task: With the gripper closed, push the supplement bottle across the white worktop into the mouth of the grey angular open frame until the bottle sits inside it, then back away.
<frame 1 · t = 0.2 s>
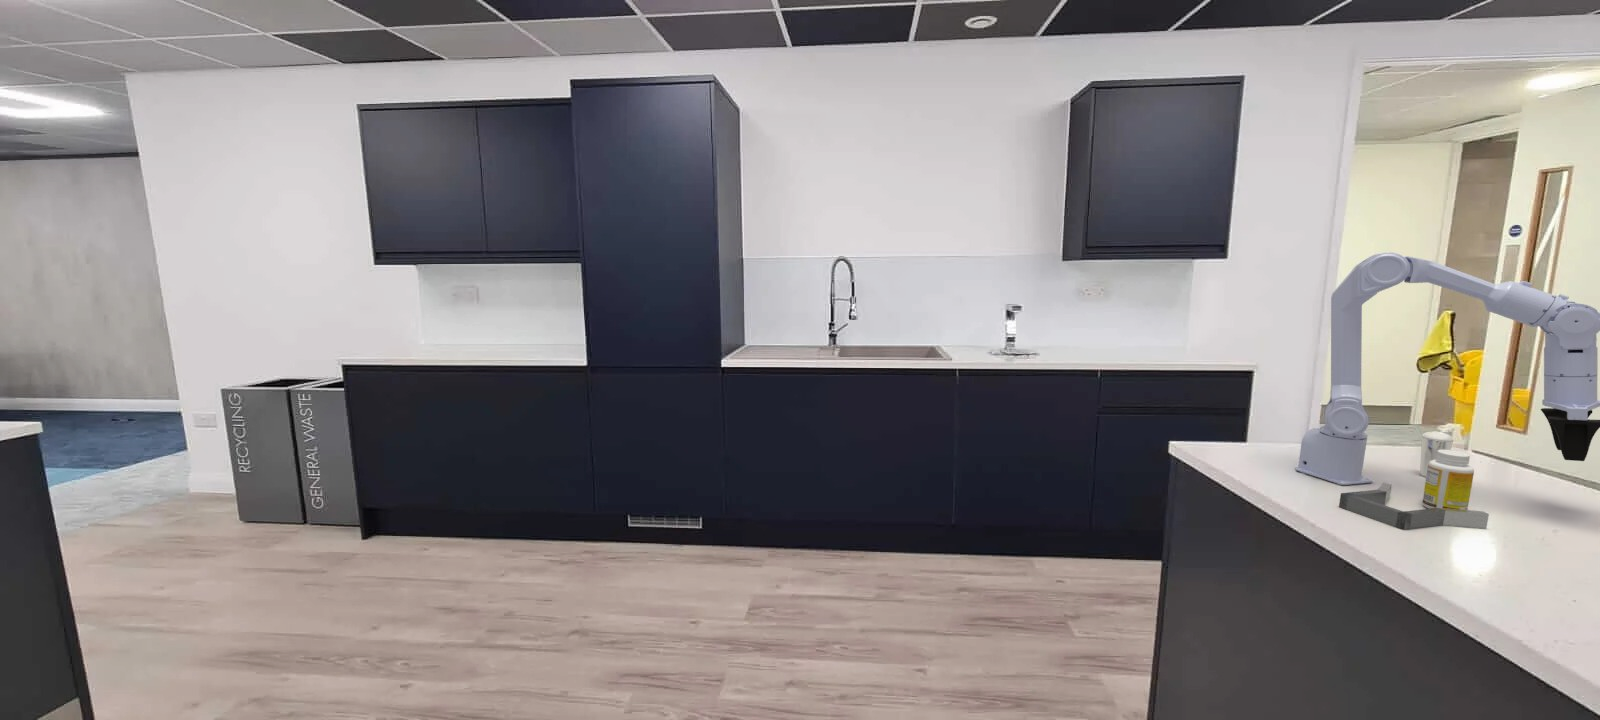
hand: (1570, 455, 108), 11 cm above the counter, tool pointing down, fingers open, 7 cm apart
supplement bottle: (1443, 510, 111), on the counter
grey angular open frame: (1392, 515, 108), on the counter
milkshake: (1427, 476, 129), on the counter
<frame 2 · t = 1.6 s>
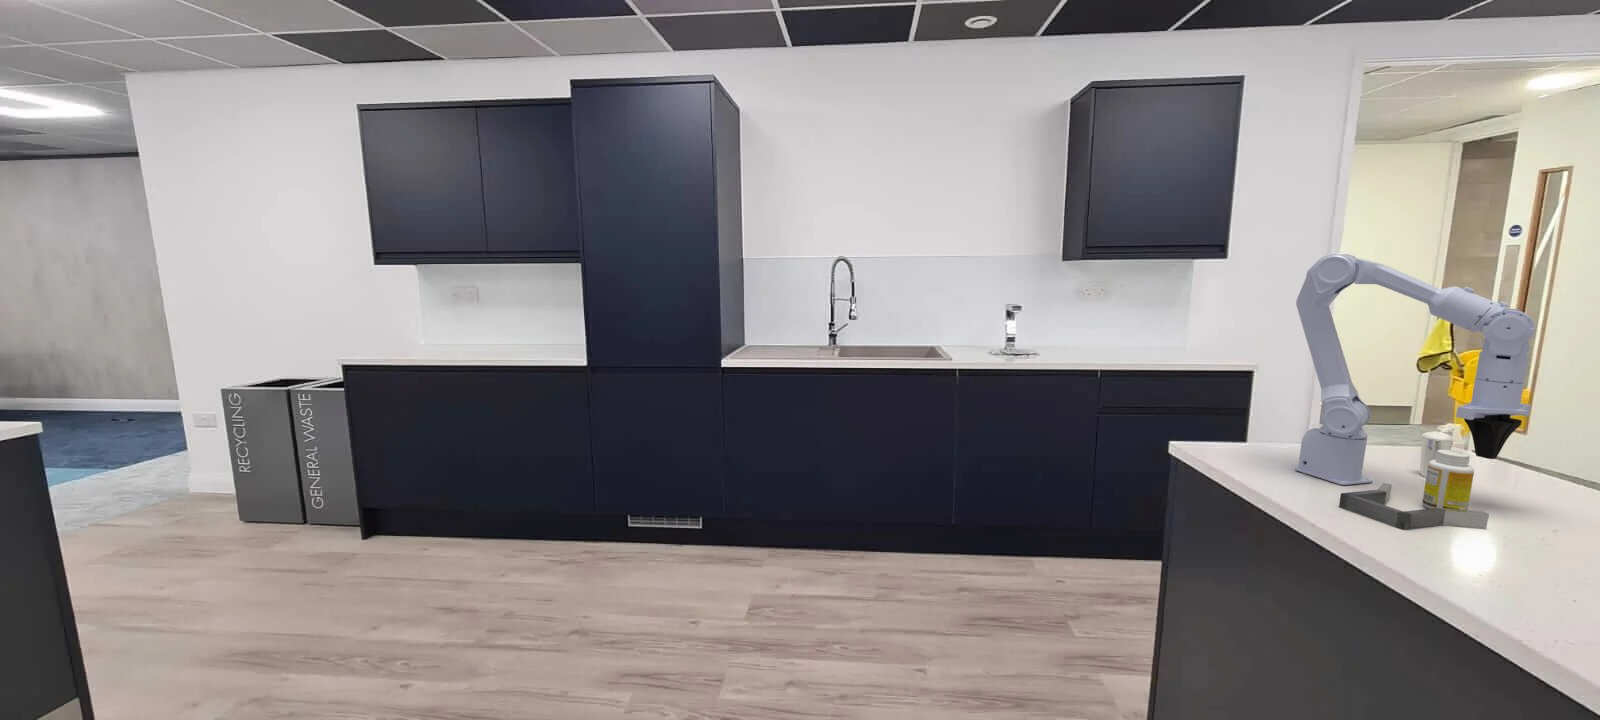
hand: (1485, 457, 112), 9 cm above the counter, tool pointing down, fingers closed
nothing on the counter moved.
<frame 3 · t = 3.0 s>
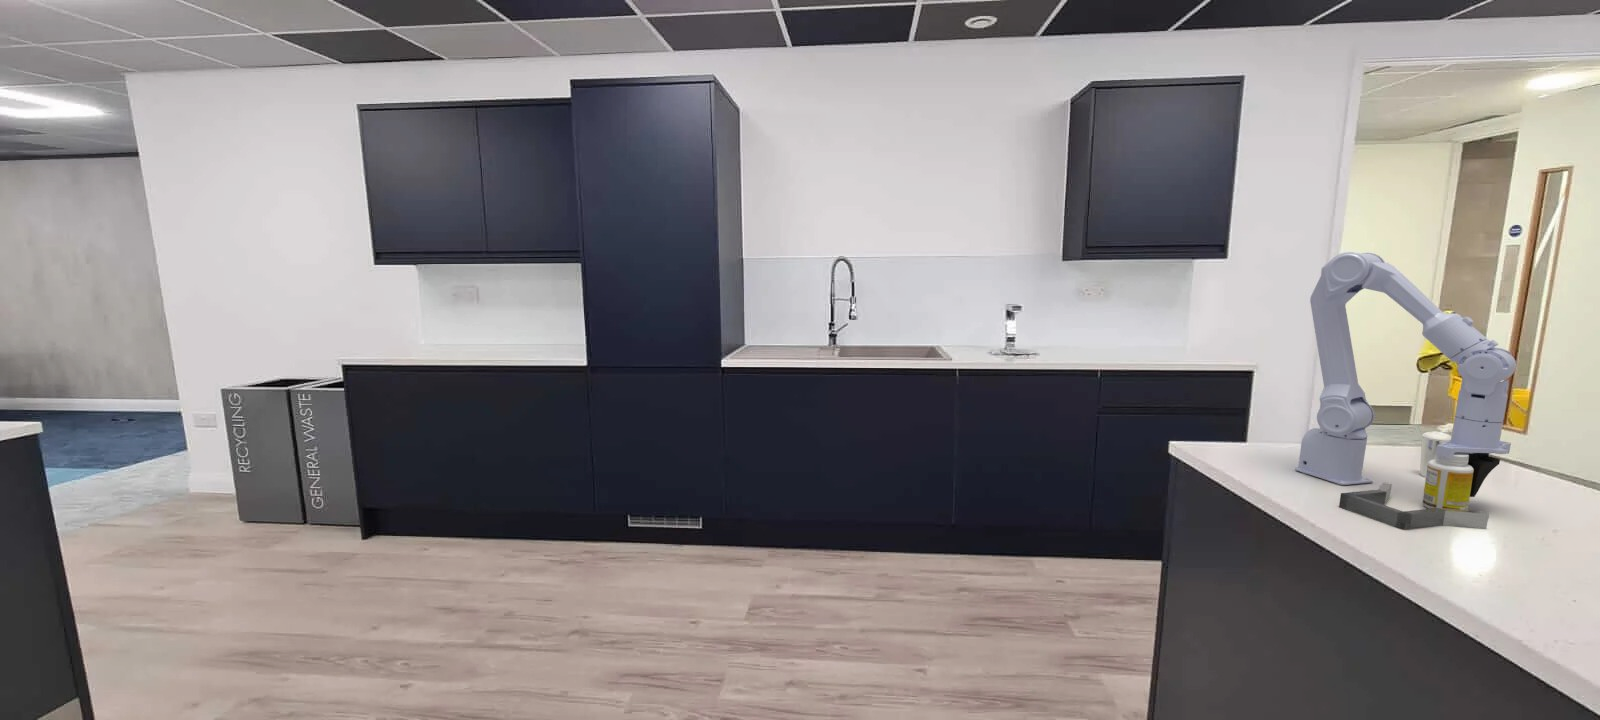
hand: (1465, 495, 112), 2 cm above the counter, tool pointing down, fingers closed
supplement bottle: (1443, 510, 111), on the counter, touching gripper
everything else where it was.
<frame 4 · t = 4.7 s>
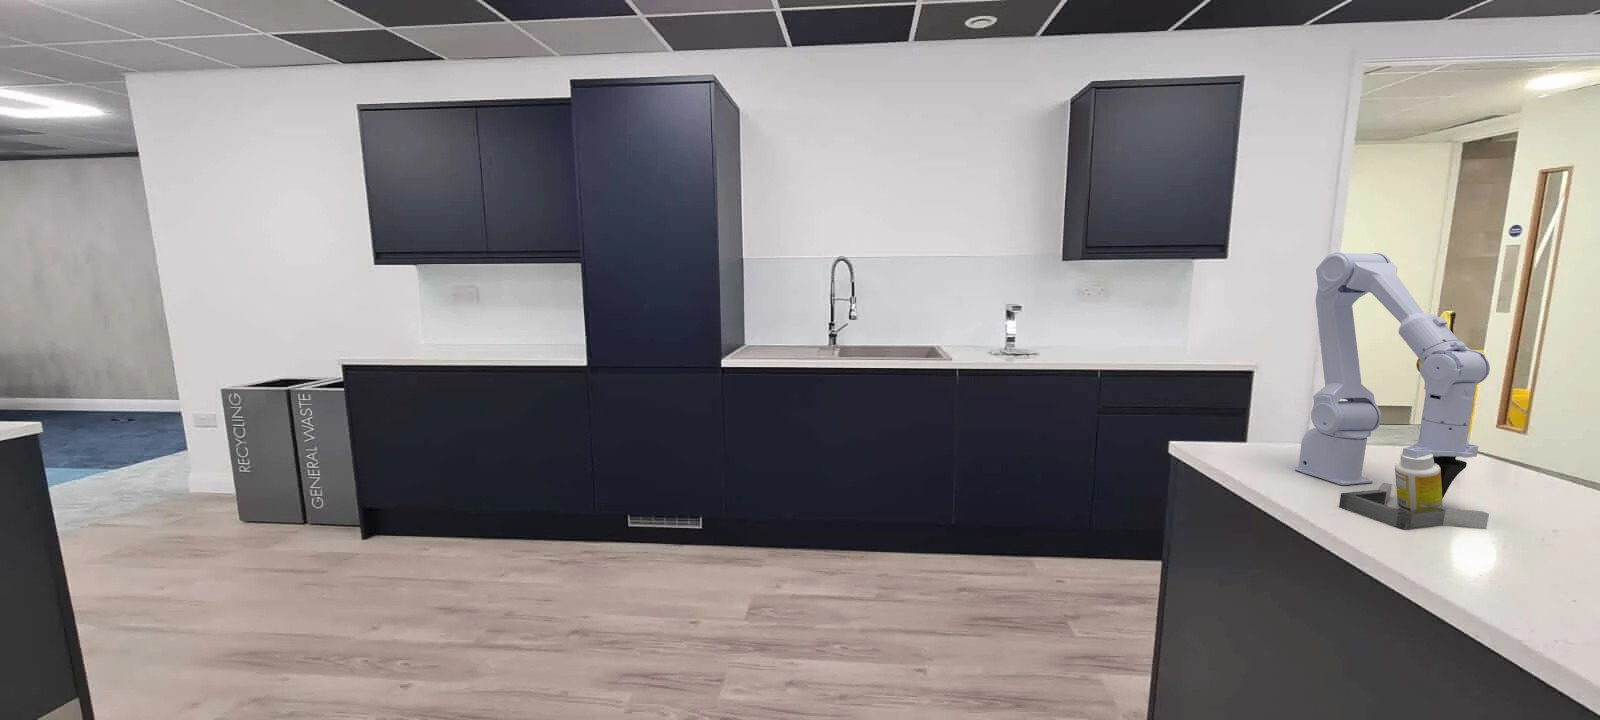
hand: (1432, 498, 110), 2 cm above the counter, tool pointing down, fingers closed
supplement bottle: (1419, 509, 109), point 1 cm above the counter, touching gripper
everything else where it was.
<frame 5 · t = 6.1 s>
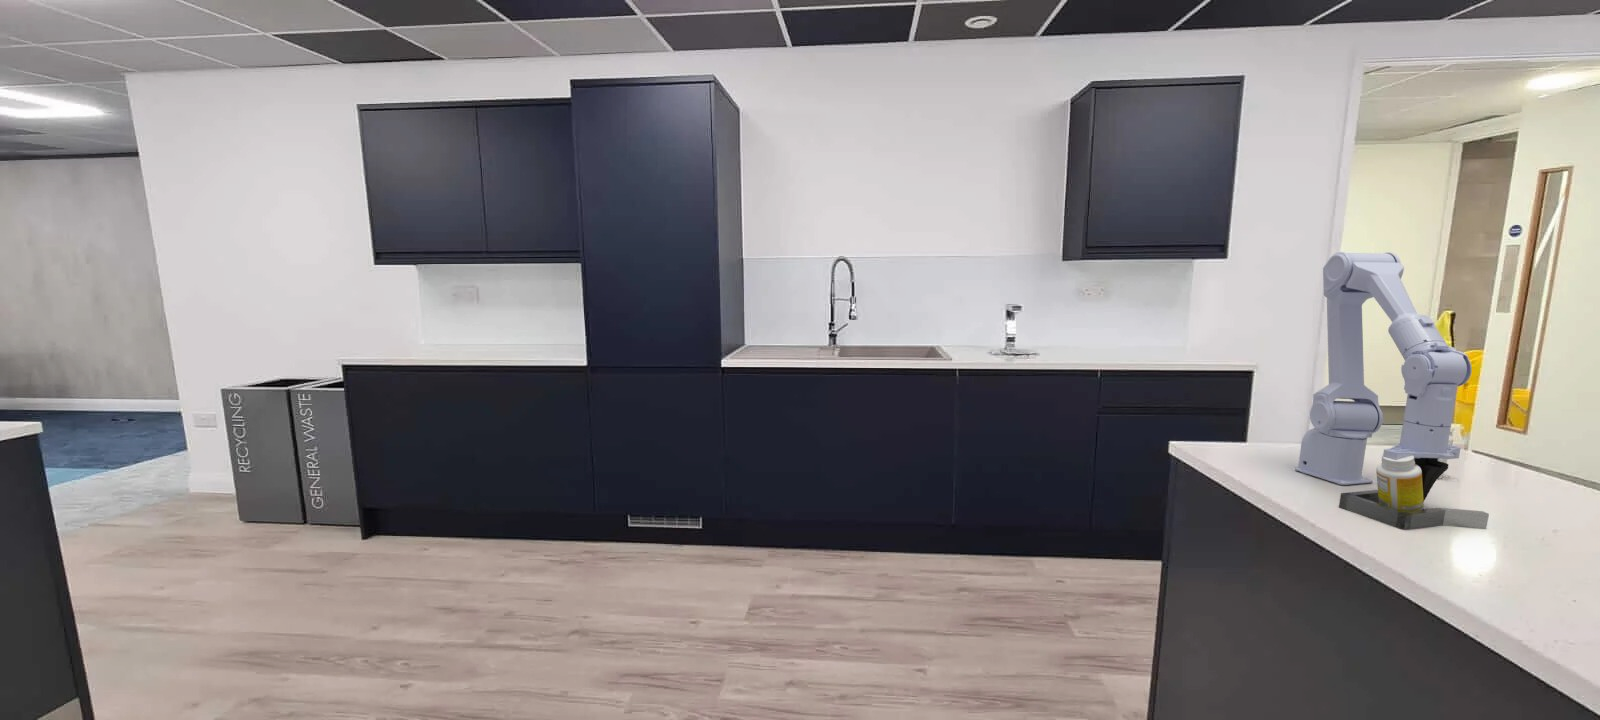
hand: (1414, 500, 109), 2 cm above the counter, tool pointing down, fingers closed
supplement bottle: (1401, 511, 108), point 1 cm above the counter, touching gripper
everything else where it was.
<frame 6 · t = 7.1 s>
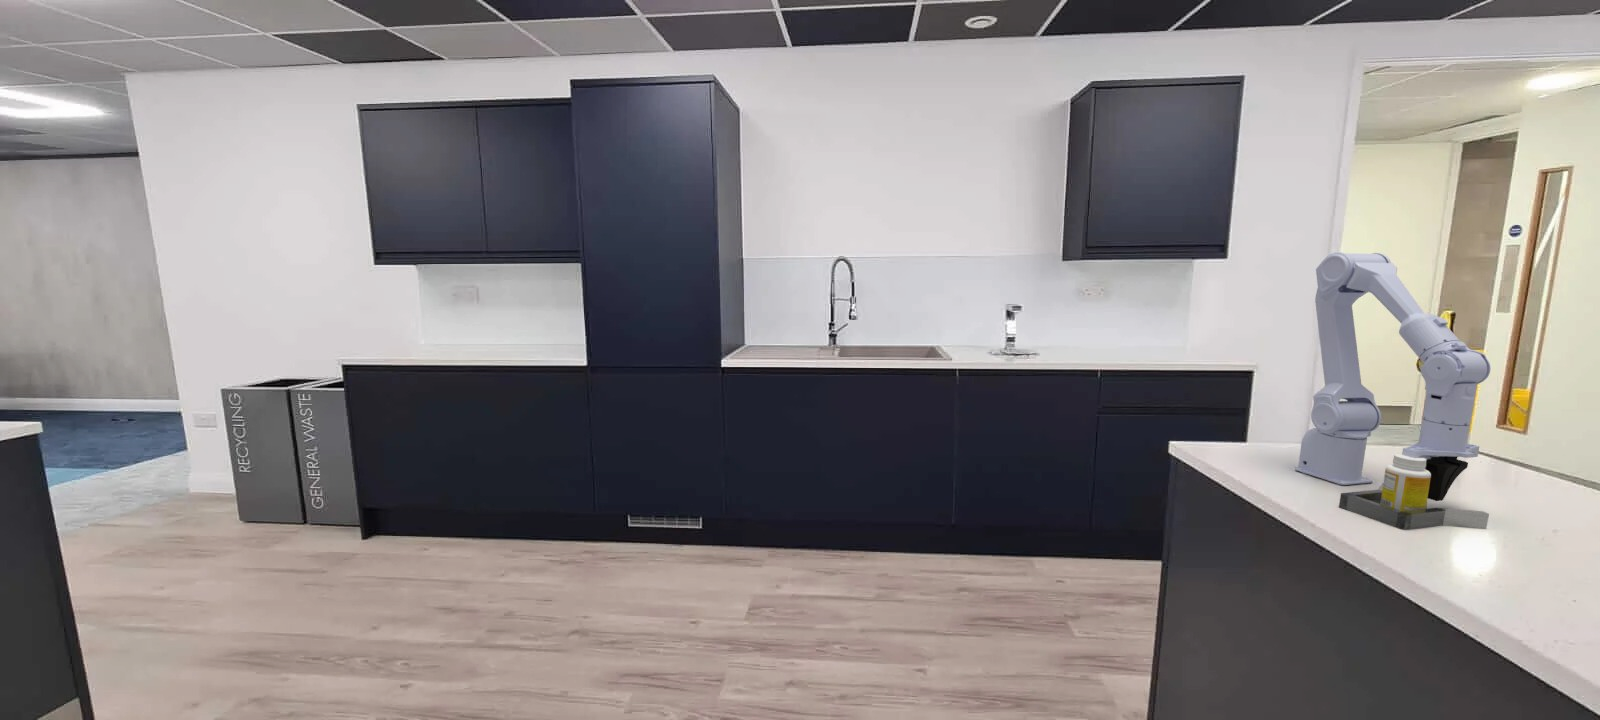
hand: (1432, 498, 110), 2 cm above the counter, tool pointing down, fingers closed
supplement bottle: (1400, 516, 108), on the counter
everything else where it was.
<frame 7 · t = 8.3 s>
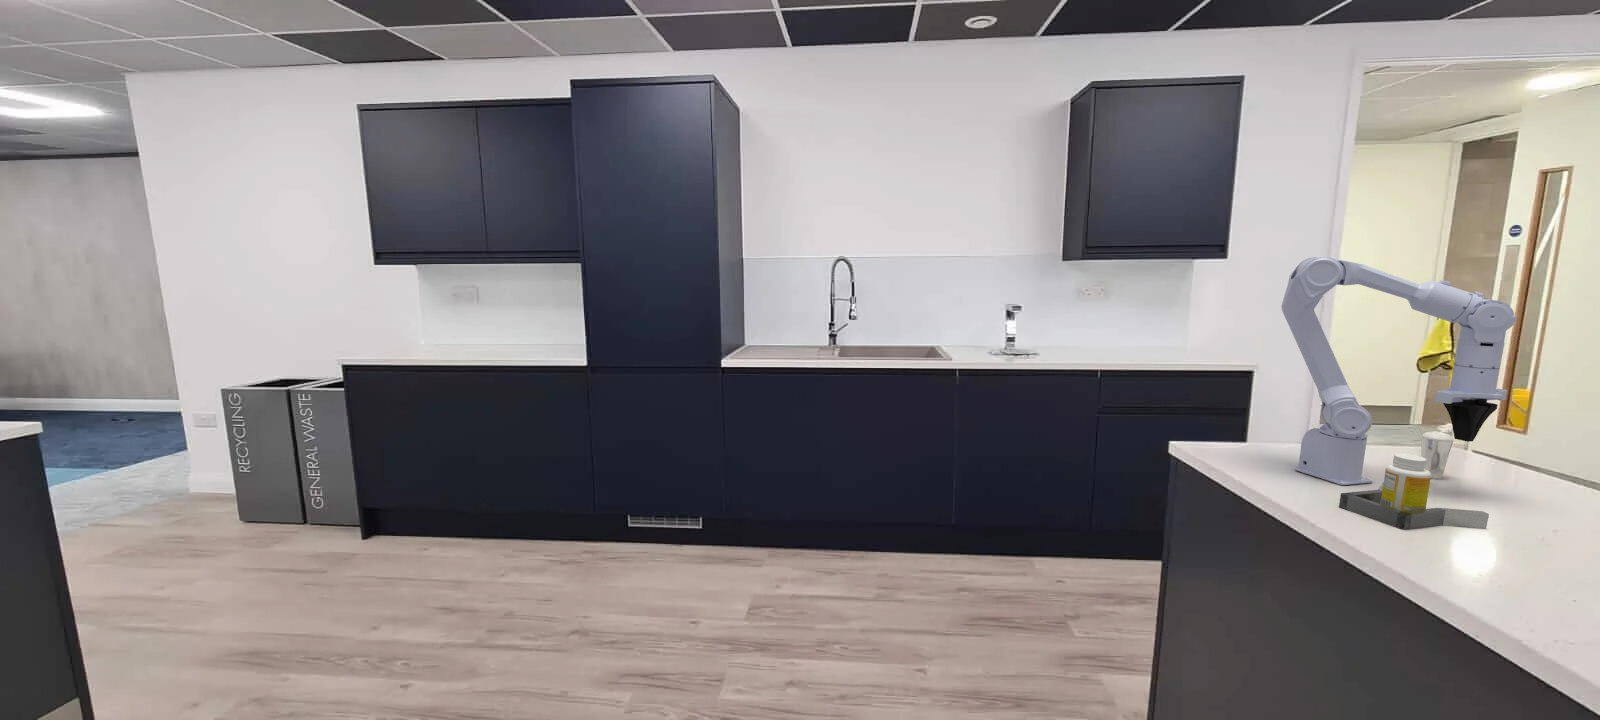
hand: (1463, 440, 117), 10 cm above the counter, tool pointing down, fingers closed
nothing on the counter moved.
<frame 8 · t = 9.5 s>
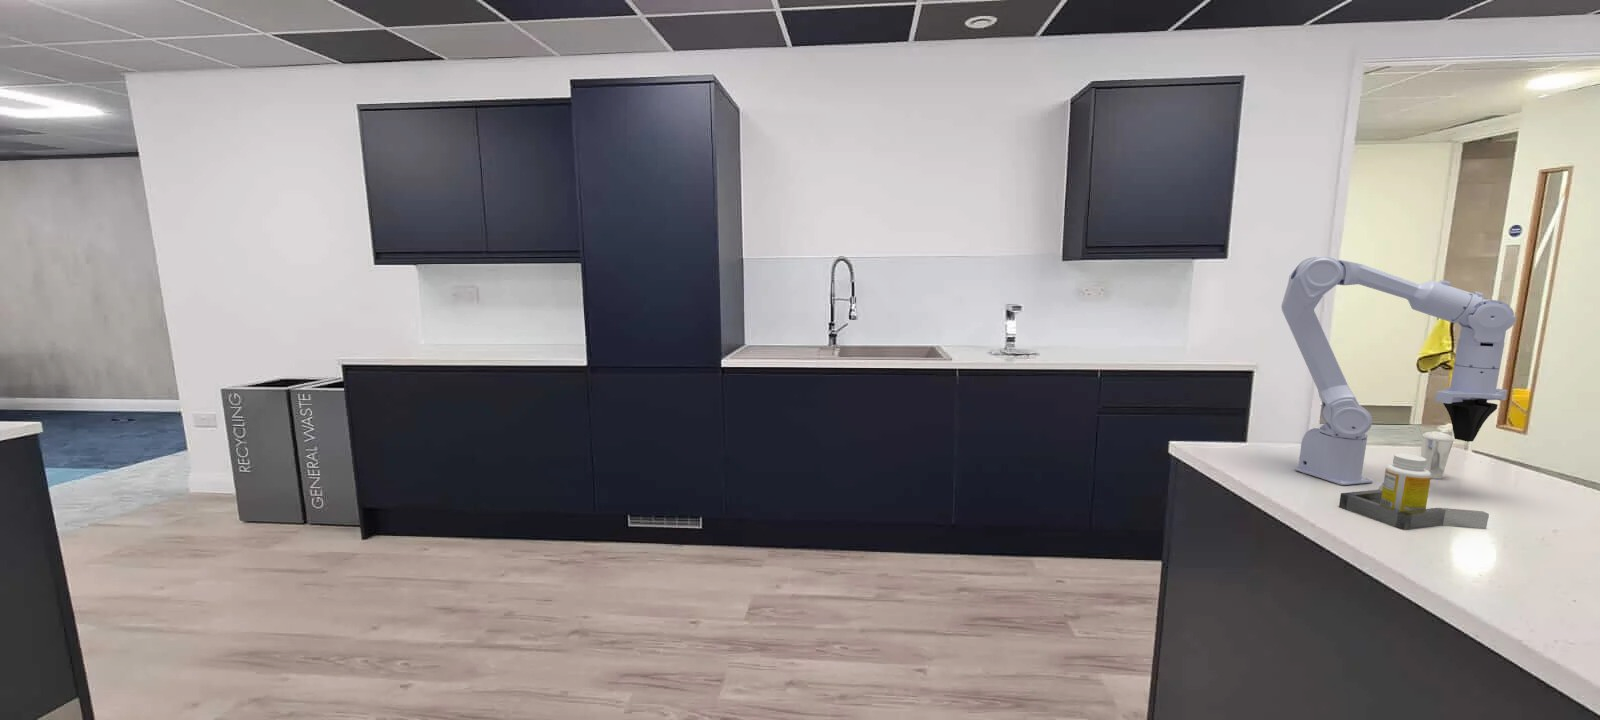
hand: (1463, 440, 117), 10 cm above the counter, tool pointing down, fingers closed
nothing on the counter moved.
at the end: supplement bottle 1.7 cm from the grey angular open frame (horizontally); supplement bottle tilted 0°; supplement bottle touching counter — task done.
